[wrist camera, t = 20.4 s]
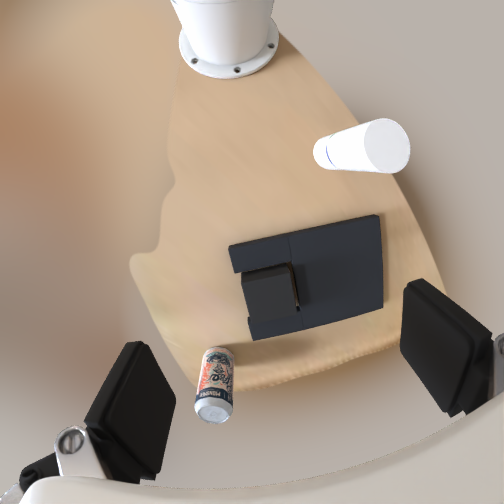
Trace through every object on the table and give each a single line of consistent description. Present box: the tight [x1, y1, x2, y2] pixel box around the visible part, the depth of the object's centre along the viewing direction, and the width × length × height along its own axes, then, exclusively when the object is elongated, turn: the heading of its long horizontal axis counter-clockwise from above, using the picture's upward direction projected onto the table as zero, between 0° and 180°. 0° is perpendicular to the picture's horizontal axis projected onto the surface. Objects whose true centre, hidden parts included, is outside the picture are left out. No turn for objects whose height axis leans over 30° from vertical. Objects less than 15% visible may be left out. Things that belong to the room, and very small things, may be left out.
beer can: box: [195, 347, 234, 424], centre depth 34 cm, size 5×5×12 cm
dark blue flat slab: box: [228, 215, 383, 341], centre depth 36 cm, size 14×20×2 cm
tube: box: [314, 118, 410, 173], centre depth 25 cm, size 4×4×15 cm
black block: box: [241, 263, 297, 324], centre depth 35 cm, size 6×6×4 cm
